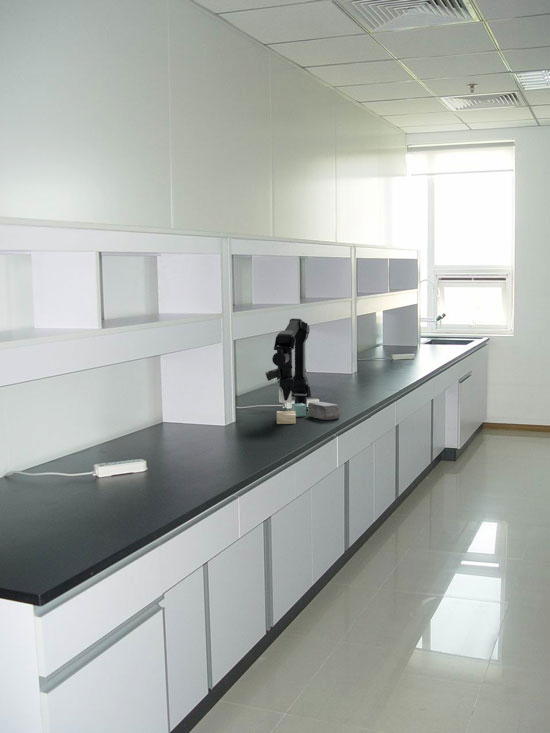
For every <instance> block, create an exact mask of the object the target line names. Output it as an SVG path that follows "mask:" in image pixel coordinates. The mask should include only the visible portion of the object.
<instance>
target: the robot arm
mask: <svg viewBox="0 0 550 733" xmlns="http://www.w3.org/2000/svg"><path fill="white" fill-rule="evenodd" d="M310 329H311V328H310V325H309V324H308V323H307V322H305V321H303V319H301V318H293V317H292V318H290V319H289V323H288V324H287V326H286V328H285V329H284V330H282V331H280V332H279V333H277V335H276V336H275V341H274V346H273V351H276V352H275V353H274V354H273V356H272V360H271V361H272V363H273V364H274V365H275V366H277V368H274V369H271V370H268V371H266V372H265V376H266V377H265V378H266V380H267V381H268V382H269V381H272V380H274V379H276V380H277V383H278V387H280V389H282V390H283V395H284V400H287V399H288V397H289V394H290V392H291V398H292V397H294V402H293V404H297V403H303V404H305V405H306V411H309V407H308V402H307V401H308V398H311V397H312V391H311V387H310V384H309V379H308V377H307V376H306V374H305V373H306V371H305V370H306V369H305V368H306V367H305V366H306V365H305V362H306V358H305V357H306V354H305V352H306V348H305V346H306V345H305V344H306V342H307V340H308V338H309V334H310ZM293 350H294V376H293Z"/></svg>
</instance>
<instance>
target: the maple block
mask: <svg viewBox="0 0 550 733" xmlns="http://www.w3.org/2000/svg"><path fill="white" fill-rule="evenodd" d="M296 418H297V417H296V412H295V411H292V410H286V411H282V410H278V411H276V424H277V425H278V424H284V425H285V424H286V425H287V424H289V425H290V424H291V425H292V424H294V425H296V423H297V422H296V420H297V419H296Z"/></svg>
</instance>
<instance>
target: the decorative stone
mask: <svg viewBox="0 0 550 733" xmlns="http://www.w3.org/2000/svg"><path fill="white" fill-rule="evenodd" d="M307 408H308V413H309V414H308V415H309V416H310V417H311V418H313V419H316V420H320V421H334V420H335V421H336V420H339V419H340V416H341V415H340V414H341V413H340V410H339V409H340V407H339V405H338V404H336V403H330V402H325V401H324V402H323V401H315V400H314V401H309V402H308V403H307Z"/></svg>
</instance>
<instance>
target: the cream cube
mask: <svg viewBox="0 0 550 733" xmlns="http://www.w3.org/2000/svg"><path fill="white" fill-rule="evenodd" d="M278 402H279V404H283V403H284V404H289V403H291V404H292V397H291V392H290V394H289V397H288V399H287V400H284V395H283V390H282V388H279V389H278Z"/></svg>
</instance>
